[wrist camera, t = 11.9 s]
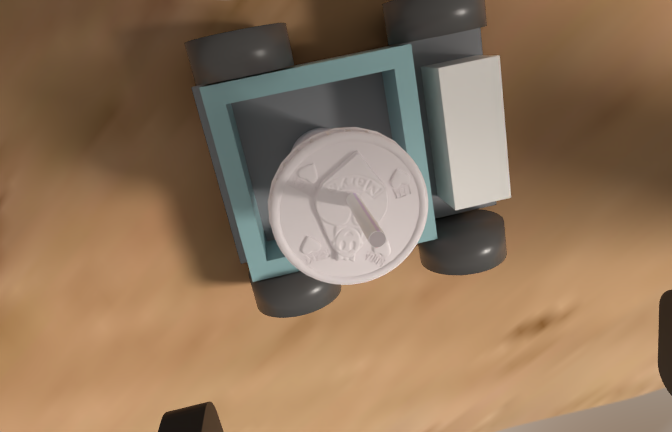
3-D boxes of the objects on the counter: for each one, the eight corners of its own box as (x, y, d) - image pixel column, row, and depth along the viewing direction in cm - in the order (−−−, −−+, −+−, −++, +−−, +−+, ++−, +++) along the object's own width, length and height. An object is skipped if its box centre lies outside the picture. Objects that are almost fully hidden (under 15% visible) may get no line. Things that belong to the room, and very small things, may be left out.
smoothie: (383, 108, 28) (492, 161, 15) (370, 216, 30) (455, 347, 17) (268, 98, 27) (276, 145, 14) (262, 211, 29) (264, 346, 16)
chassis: (469, -12, 28) (511, -25, 23) (492, 230, 32) (531, 260, 28) (182, 46, 27) (164, 44, 22) (249, 287, 31) (247, 328, 27)
